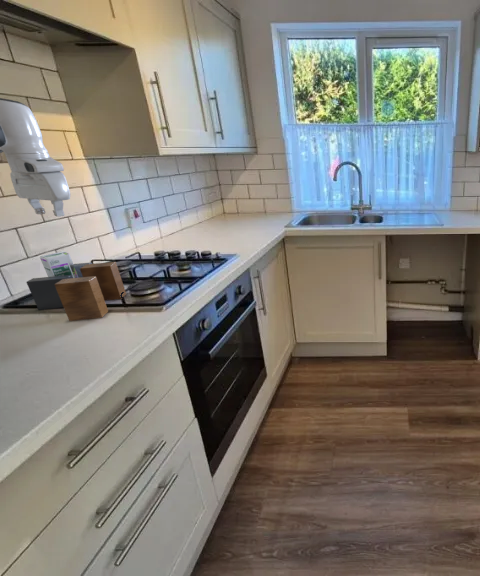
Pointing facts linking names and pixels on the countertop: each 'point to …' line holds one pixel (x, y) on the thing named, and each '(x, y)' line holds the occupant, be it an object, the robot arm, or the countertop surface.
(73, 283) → the wooden blocks
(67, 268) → the syrup box
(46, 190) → the robot arm
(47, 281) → the grey boxes
